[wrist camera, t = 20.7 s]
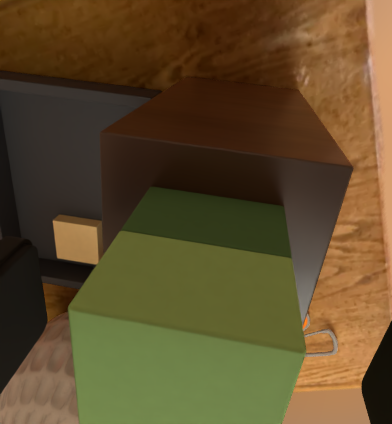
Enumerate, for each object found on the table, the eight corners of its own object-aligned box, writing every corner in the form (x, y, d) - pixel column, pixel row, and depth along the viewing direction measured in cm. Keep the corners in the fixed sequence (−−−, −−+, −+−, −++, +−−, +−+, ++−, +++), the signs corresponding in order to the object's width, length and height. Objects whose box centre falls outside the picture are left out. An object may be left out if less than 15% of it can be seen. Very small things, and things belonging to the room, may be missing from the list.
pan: (-10, 69, 27) (-40, 73, 25) (162, 90, 26) (151, 97, 23) (21, 256, 36) (1, 275, 33) (153, 279, 34) (144, 301, 32)
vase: (190, 359, 38) (149, 561, 24) (93, 375, 42) (5, 559, 28) (138, 264, 34) (47, 444, 19) (34, 293, 38) (-110, 461, 23)
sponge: (149, 185, 12) (65, 306, 7) (284, 205, 12) (308, 351, 6) (144, 326, 15) (84, 487, 10) (251, 346, 15) (248, 526, 9)
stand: (186, 76, 25) (98, 131, 11) (299, 89, 25) (355, 167, 11) (178, 179, 29) (104, 317, 15) (276, 193, 28) (295, 353, 14)
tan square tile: (59, 214, 32) (52, 220, 31) (102, 220, 31) (96, 227, 30) (63, 251, 34) (56, 258, 33) (103, 257, 33) (98, 265, 32)
